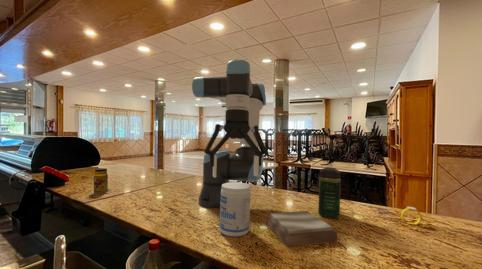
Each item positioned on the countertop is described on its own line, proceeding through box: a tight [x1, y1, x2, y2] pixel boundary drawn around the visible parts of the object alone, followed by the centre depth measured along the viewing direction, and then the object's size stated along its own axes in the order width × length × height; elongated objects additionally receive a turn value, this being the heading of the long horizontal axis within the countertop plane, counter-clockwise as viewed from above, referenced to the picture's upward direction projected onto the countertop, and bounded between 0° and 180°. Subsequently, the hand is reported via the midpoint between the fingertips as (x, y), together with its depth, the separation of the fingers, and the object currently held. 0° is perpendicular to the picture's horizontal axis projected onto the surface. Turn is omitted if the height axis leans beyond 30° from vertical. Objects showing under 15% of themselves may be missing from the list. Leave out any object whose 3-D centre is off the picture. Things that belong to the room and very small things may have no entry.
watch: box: [400, 206, 423, 226], centre depth 79 cm, size 6×3×6 cm, turn 75°
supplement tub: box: [219, 181, 252, 238], centre depth 70 cm, size 10×10×15 cm
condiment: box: [91, 167, 111, 195], centre depth 112 cm, size 7×8×12 cm
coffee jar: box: [317, 166, 342, 219], centre depth 87 cm, size 10×8×19 cm
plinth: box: [265, 210, 338, 248], centre depth 70 cm, size 16×16×4 cm
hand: (235, 176), depth 70 cm, fingers open, 13 cm apart
